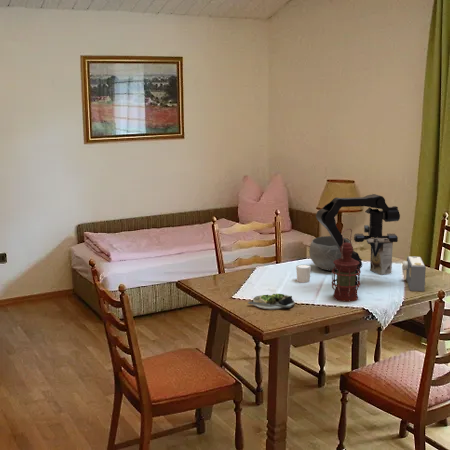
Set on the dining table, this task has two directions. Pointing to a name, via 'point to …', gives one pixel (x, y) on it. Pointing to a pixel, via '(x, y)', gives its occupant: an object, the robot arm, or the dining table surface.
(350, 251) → the lantern
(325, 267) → the bowl
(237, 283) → the dining table surface
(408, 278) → the console
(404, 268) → the cream button
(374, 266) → the coffee box
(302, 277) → the white cup
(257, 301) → the salad plate
